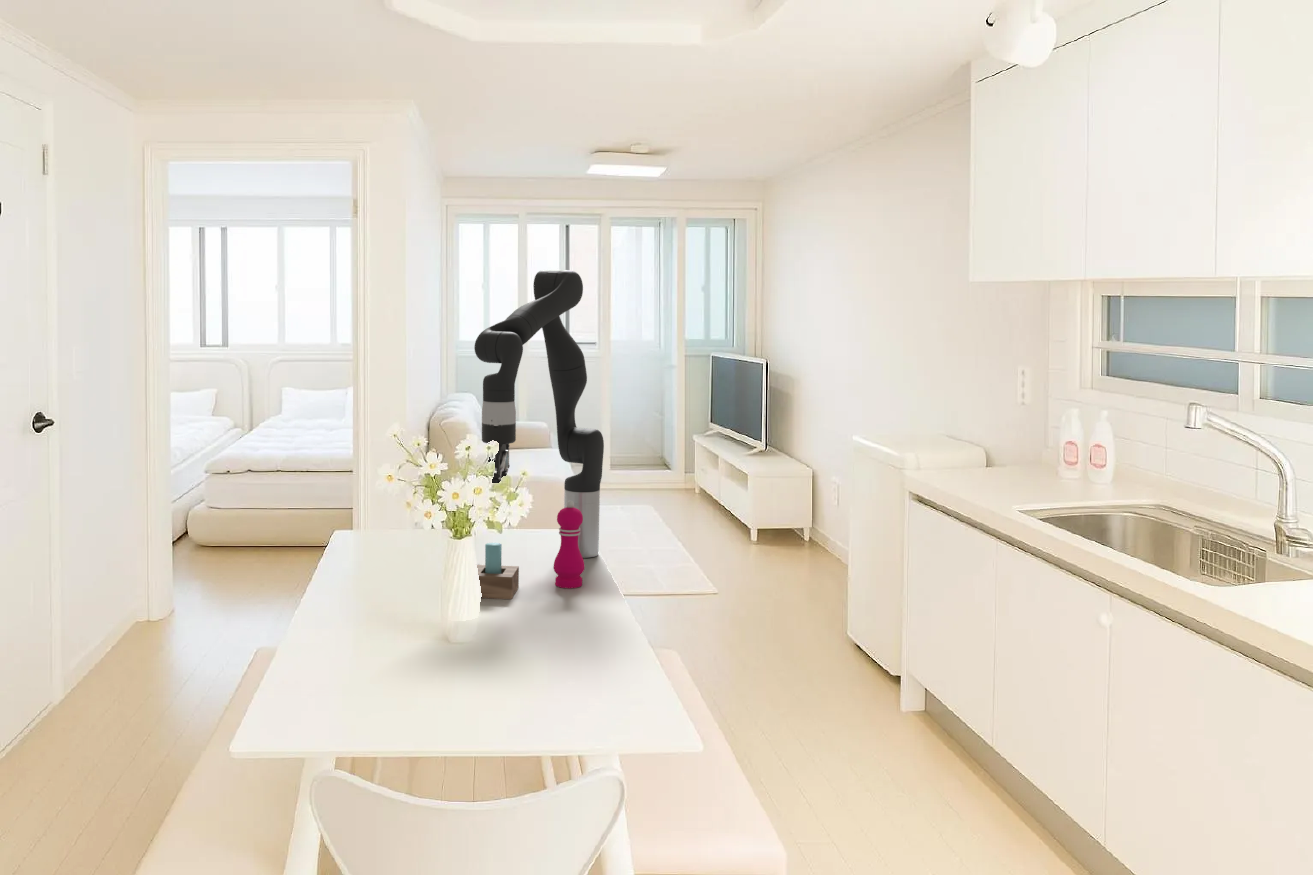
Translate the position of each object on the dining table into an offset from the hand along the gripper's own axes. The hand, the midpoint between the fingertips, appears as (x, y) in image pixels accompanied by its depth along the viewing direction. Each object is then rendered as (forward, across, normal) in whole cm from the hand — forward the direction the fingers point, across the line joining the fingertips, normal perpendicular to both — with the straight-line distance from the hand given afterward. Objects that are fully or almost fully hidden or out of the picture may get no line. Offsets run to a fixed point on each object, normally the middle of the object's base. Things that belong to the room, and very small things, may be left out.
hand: (498, 492), depth 246 cm
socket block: (+23, +2, -1) cm, 23 cm away
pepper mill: (+23, -7, +15) cm, 28 cm away
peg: (+22, +2, -1) cm, 22 cm away
